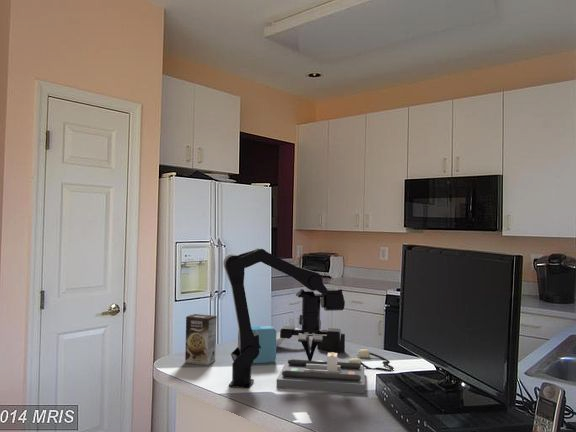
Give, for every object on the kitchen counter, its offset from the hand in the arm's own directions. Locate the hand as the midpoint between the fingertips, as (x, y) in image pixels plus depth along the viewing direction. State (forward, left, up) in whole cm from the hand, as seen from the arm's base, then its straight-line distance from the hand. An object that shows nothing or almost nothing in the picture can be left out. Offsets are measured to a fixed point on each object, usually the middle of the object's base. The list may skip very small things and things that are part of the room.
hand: (310, 360), depth 146 cm
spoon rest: (+37, +15, -6) cm, 41 cm away
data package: (+16, +20, -6) cm, 26 cm away
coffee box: (+12, +40, -6) cm, 42 cm away
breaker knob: (0, -7, -3) cm, 8 cm away
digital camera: (+36, -5, -6) cm, 37 cm away
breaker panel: (0, -4, -6) cm, 7 cm away
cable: (+22, -20, -7) cm, 31 cm away
